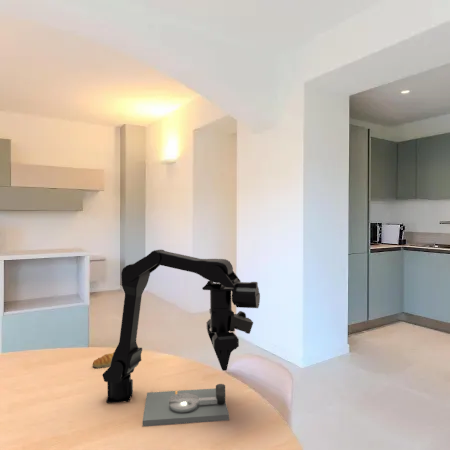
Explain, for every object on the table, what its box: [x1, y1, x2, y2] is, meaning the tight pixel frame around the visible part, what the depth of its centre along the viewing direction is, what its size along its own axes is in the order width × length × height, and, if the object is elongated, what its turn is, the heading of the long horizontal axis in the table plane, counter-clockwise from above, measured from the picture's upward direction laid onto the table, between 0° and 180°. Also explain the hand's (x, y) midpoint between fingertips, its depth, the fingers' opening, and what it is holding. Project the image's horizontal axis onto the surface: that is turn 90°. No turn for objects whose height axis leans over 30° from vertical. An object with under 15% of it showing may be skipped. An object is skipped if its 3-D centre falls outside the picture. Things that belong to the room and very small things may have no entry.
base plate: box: [142, 387, 230, 427], centre depth 108 cm, size 22×16×2 cm
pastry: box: [92, 352, 114, 369], centre depth 141 cm, size 9×7×4 cm
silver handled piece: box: [169, 383, 226, 413], centre depth 106 cm, size 15×8×5 cm, turn 97°
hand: (221, 364), depth 106 cm, fingers open, 9 cm apart
